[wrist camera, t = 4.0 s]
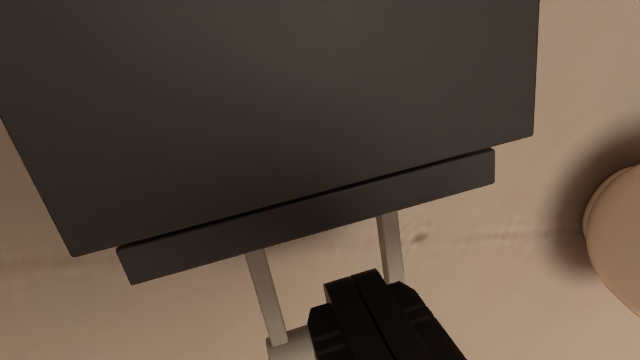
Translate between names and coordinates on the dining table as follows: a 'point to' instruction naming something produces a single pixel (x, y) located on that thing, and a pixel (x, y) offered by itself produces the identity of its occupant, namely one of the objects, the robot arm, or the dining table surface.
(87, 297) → the dining table surface
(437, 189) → the drawer
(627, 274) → the trinket box
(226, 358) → the dining table surface
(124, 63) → the black box
